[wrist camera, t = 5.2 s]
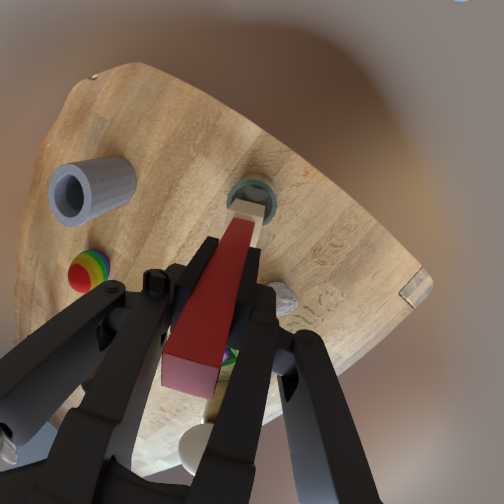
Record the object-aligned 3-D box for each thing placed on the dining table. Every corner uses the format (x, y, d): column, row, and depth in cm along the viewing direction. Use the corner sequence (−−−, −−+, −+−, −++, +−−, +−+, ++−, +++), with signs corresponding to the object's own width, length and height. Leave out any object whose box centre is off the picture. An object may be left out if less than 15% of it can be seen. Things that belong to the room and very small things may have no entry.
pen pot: (240, 169, 43) (232, 174, 34) (280, 179, 43) (282, 186, 34) (231, 208, 45) (222, 221, 37) (270, 217, 45) (269, 233, 37)
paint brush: (235, 198, 28) (144, 332, 8) (265, 205, 28) (243, 359, 8) (229, 226, 29) (146, 390, 9) (258, 233, 29) (225, 412, 9)
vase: (99, 154, 43) (49, 161, 30) (139, 159, 43) (94, 167, 30) (94, 201, 46) (47, 220, 33) (133, 210, 46) (90, 233, 33)
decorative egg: (118, 280, 52) (94, 305, 43) (90, 279, 53) (65, 301, 44) (110, 244, 49) (82, 264, 40) (81, 245, 50) (53, 264, 41)
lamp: (206, 410, 66) (188, 485, 43) (187, 378, 61) (159, 461, 38) (259, 407, 64) (252, 489, 40) (245, 374, 59) (233, 467, 36)
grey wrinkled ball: (297, 300, 51) (300, 321, 44) (261, 304, 52) (259, 326, 45) (294, 271, 49) (297, 291, 42) (255, 276, 49) (253, 296, 43)
